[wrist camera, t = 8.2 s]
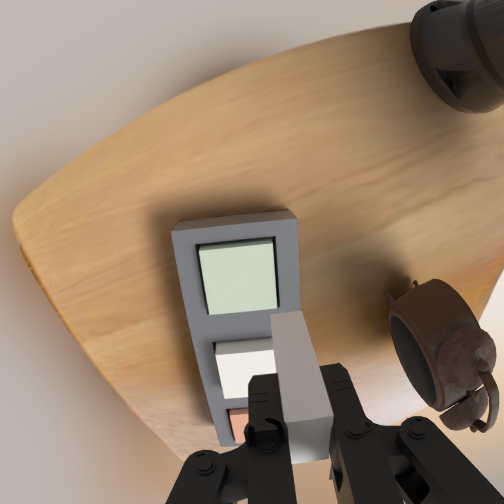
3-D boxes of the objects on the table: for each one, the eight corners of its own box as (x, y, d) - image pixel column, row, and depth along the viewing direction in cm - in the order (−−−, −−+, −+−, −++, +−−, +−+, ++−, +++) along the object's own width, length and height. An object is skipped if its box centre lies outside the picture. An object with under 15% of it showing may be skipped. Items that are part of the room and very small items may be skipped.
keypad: (289, 209, 31) (297, 218, 27) (296, 419, 41) (300, 439, 37) (178, 221, 31) (170, 231, 27) (221, 426, 41) (220, 446, 37)
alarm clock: (364, 281, 34) (461, 400, 15) (415, 254, 33) (531, 344, 14) (389, 363, 38) (453, 470, 19) (431, 338, 38) (507, 432, 19)
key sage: (269, 234, 30) (272, 243, 27) (273, 294, 32) (277, 308, 29) (202, 240, 29) (198, 250, 27) (211, 300, 32) (209, 314, 29)
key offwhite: (276, 332, 32) (280, 348, 29) (279, 376, 34) (282, 393, 31) (216, 338, 32) (215, 355, 29) (224, 381, 34) (224, 398, 31)
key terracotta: (279, 393, 36) (282, 410, 34) (281, 423, 38) (283, 439, 36) (229, 398, 36) (229, 415, 33) (235, 427, 38) (236, 443, 36)
